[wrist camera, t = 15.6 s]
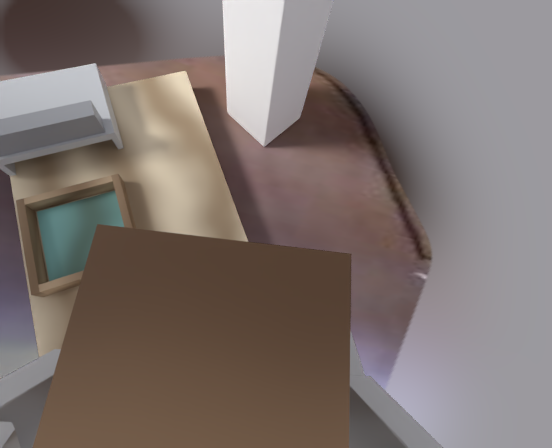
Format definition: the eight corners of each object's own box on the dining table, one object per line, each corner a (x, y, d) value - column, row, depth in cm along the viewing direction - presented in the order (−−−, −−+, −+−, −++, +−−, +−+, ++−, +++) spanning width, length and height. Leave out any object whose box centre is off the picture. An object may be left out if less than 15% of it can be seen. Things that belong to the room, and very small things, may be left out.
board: (78, 481, 25) (49, 507, 21) (15, 125, 33) (-13, 98, 30) (297, 383, 29) (306, 390, 25) (189, 87, 37) (184, 59, 34)
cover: (10, 176, 29) (-33, 145, 24) (-2, 104, 31) (-43, 63, 27) (123, 148, 31) (104, 115, 26) (105, 82, 33) (84, 41, 29)
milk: (264, 148, 36) (299, -106, 15) (226, 113, 37) (211, -173, 16) (301, 117, 38) (378, -147, 17) (264, 84, 39) (295, -204, 18)
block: (267, 402, 14) (348, 572, 4) (174, 395, 14) (-1, 559, 4) (275, 309, 16) (351, 254, 5) (190, 300, 15) (96, 224, 5)
